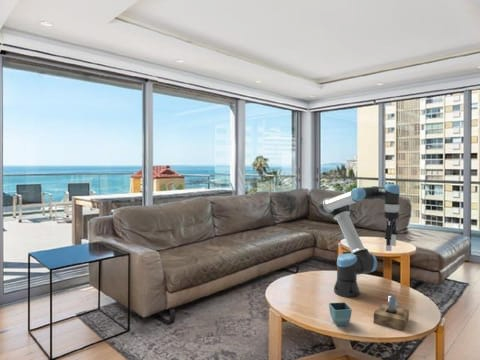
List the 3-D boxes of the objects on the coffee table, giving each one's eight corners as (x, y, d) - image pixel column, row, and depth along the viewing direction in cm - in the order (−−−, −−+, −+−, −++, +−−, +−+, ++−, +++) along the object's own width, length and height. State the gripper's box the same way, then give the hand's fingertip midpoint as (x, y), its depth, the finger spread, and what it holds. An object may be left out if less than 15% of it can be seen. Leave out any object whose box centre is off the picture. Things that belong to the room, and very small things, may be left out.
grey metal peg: (386, 321, 169) (387, 296, 168) (388, 318, 172) (388, 294, 171) (394, 323, 167) (394, 298, 167) (395, 320, 170) (396, 295, 169)
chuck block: (373, 322, 168) (373, 313, 168) (384, 304, 189) (384, 295, 189) (404, 330, 160) (404, 320, 160) (411, 310, 181) (411, 301, 181)
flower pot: (328, 319, 172) (328, 302, 171) (344, 318, 172) (345, 301, 172) (334, 328, 163) (334, 310, 162) (351, 327, 164) (352, 309, 163)
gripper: (394, 215, 177) (394, 254, 178) (402, 209, 197) (401, 244, 199) (379, 213, 181) (379, 252, 182) (388, 208, 202) (388, 242, 203)
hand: (390, 248), depth 190 cm, fingers open, 13 cm apart
